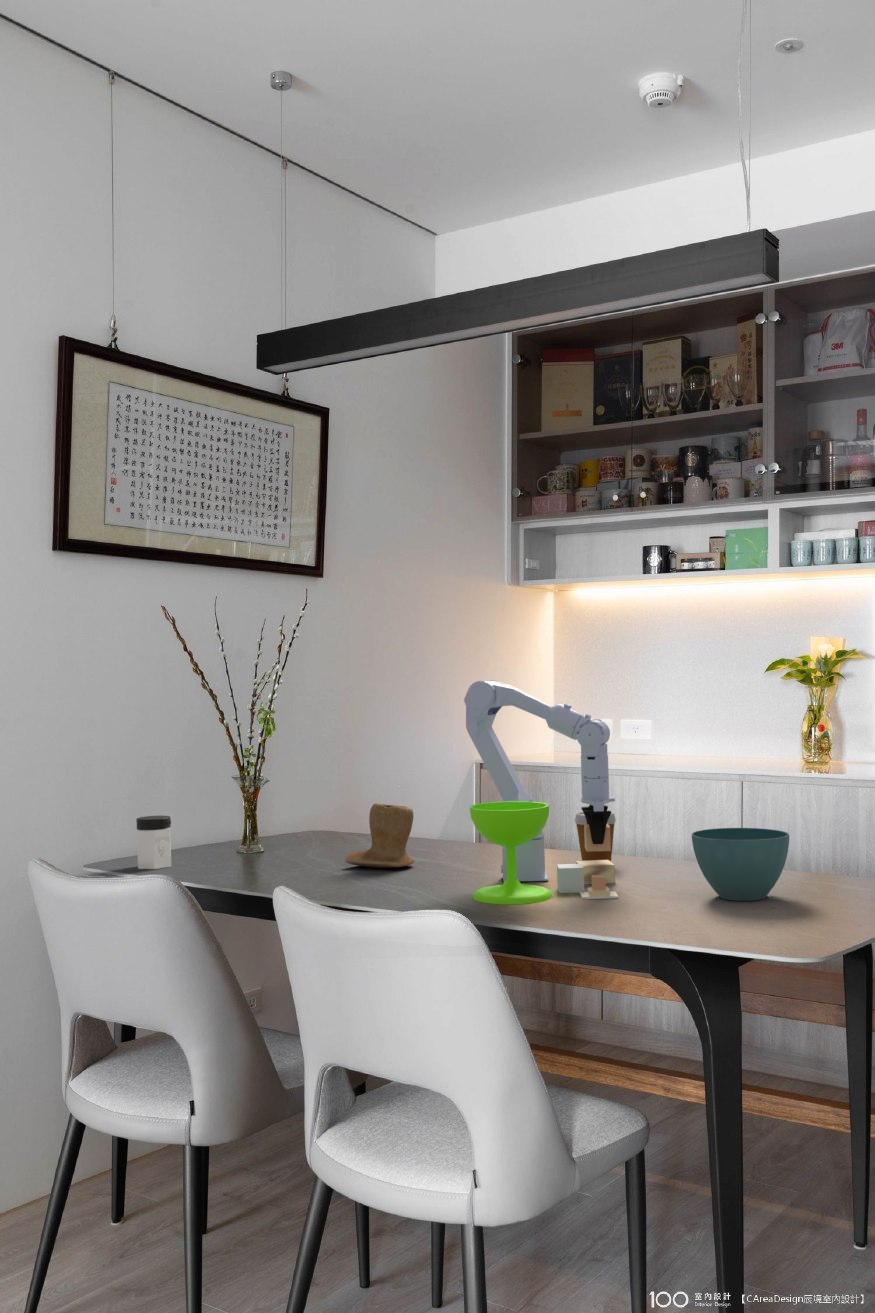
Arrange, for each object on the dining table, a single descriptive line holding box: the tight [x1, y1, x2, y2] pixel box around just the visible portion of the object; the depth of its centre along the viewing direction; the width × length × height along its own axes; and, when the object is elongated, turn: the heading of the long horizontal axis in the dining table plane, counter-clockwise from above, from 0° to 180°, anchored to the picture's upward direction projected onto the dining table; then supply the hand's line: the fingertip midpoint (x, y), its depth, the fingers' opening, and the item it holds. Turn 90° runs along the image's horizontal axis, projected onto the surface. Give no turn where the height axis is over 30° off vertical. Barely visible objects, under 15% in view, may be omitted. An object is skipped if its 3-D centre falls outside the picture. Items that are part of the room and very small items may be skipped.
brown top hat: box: [344, 802, 415, 869], centre depth 269 cm, size 15×12×15 cm
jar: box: [135, 815, 172, 870], centre depth 279 cm, size 9×8×12 cm
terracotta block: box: [584, 824, 611, 851], centre depth 241 cm, size 5×5×5 cm
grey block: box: [556, 863, 585, 894], centre depth 232 cm, size 5×5×5 cm
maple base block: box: [575, 860, 616, 885], centre depth 242 cm, size 7×7×4 cm
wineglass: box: [469, 801, 553, 905], centre depth 228 cm, size 16×16×18 cm
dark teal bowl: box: [691, 827, 790, 902], centre depth 220 cm, size 18×18×12 cm
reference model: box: [579, 875, 619, 900], centre depth 225 cm, size 7×5×4 cm
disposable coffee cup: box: [573, 811, 617, 862], centre depth 260 cm, size 10×10×12 cm
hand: (596, 842), depth 241 cm, fingers closed on terracotta block, 5 cm apart
